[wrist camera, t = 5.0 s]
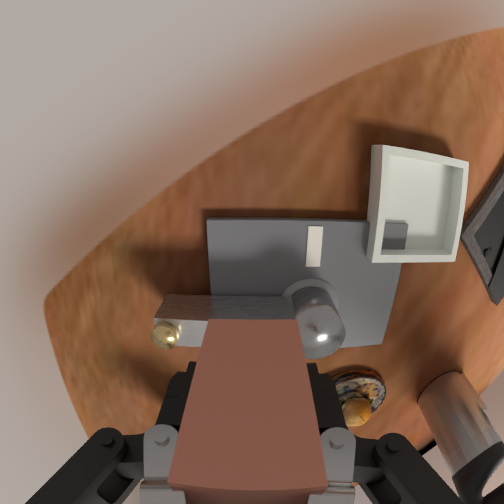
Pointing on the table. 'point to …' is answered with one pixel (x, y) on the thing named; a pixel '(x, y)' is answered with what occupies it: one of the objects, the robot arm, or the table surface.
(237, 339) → the block
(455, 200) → the tray
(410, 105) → the table surface
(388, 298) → the crank plate
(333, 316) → the crank
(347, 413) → the burger
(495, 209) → the picture frame
